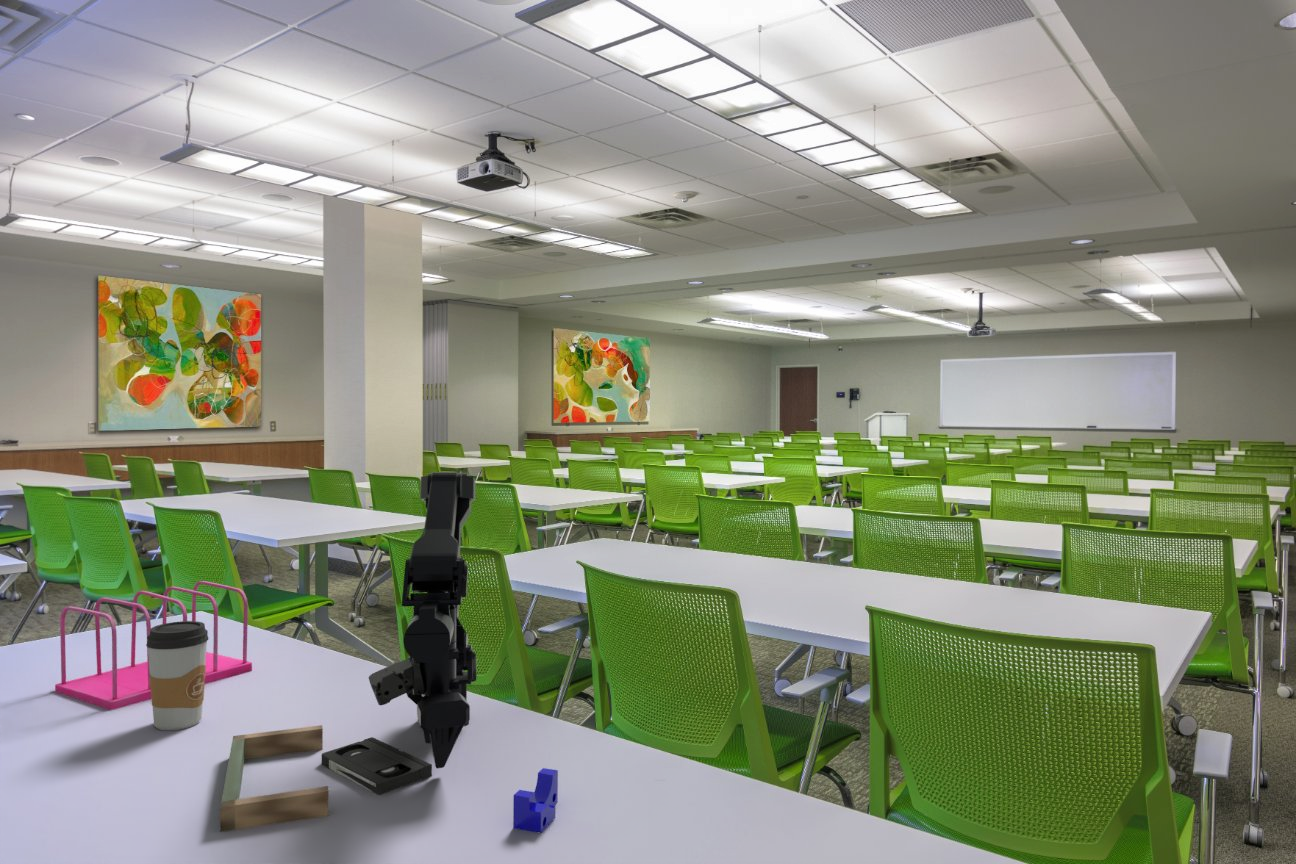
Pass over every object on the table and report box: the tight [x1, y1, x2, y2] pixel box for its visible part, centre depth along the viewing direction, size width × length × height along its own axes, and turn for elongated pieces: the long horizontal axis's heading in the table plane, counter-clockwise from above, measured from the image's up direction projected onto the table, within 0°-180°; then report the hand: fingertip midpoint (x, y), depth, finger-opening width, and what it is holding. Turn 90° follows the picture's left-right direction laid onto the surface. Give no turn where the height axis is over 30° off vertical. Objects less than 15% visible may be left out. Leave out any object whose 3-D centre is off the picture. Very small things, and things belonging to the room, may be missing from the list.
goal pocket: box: [219, 724, 329, 833], centre depth 111 cm, size 12×23×3 cm, turn 22°
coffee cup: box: [145, 620, 209, 731], centre depth 131 cm, size 8×8×15 cm
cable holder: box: [512, 767, 559, 834], centre depth 103 cm, size 8×4×4 cm, turn 162°
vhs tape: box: [321, 736, 433, 796], centre depth 116 cm, size 14×8×2 cm, turn 50°
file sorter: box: [54, 580, 253, 711], centre depth 152 cm, size 17×25×16 cm
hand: (434, 754), depth 118 cm, fingers open, 9 cm apart
